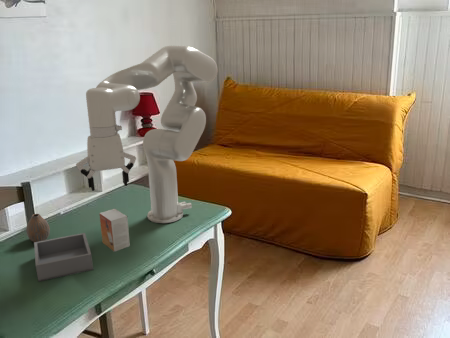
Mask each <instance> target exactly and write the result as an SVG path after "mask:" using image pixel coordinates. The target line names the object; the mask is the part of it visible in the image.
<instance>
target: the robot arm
mask: <svg viewBox="0 0 450 338" xmlns="http://www.w3.org/2000/svg"><path fill="white" fill-rule="evenodd" d="M172 75H173V76H172ZM170 76H172V77H173V80H174V91H173V94H172V96H171V97H170V100H169V101H168V103H167V105H166V106H165V109H164V110H163V112H162V114H161V117H160V124H161V126H162V128H154V129H150V130H148V131H147V132H146V133H145V135H144V136H143V139H142V146H143V151H144V154H145V158H146V161H147V171H148V184H149V195H150V197H149V198H150V210H149V211H148V212H147V220H148V221H151V222H152V223H156V224H168V223H174V222H177V221H179V220H181V219H182V218H183V216H184V210H188V209H192V208H193V207H192V206H193V205H192V202H188V203H187V202H186V201H182V202H179V195H178V178H177V177H178V176H177V175H178V174H177V167H176V163H175V161H177V162H183V161H187V160H188V159H189V158H190V157H191V156H192V154H193V152H194V150H195V149H196V146H197V144H198V143H199V141H200V138H201V136H202V135H203V132H204V131H205V129H206V124H207V115H206V113H205V111H204V110H203V109H202V107H200V106H196V104H197V100H198V95H197V92H196V89H195V87H194V83H211V82H213V81H214V80H215V79H216V77H217V76H218V65H217V62H216V61H215V59H214V58H212V57H211V56H209V55H208V54H205V52H202V51H201V50H199V49H196V48H195V47H192V46H190V45H189V46H188V45H167V46H164V47H161V48H160V49H158V50H157V51H156V52H154V53H153V54H152V55H150V56H149V57H148V58H146V59H145V60H144V61H141V62H140V63H138V64H135V65H131V66H129V67H127V68H124V69H121V70H119V71H117V72H114V73H112V74H110V75H109V76H107V77H106V78H104V79H103V80H101V82H98V84H97V85H96V87H92V88H89V89H88V90H87V91H86V92H85V98H86V107H87V116H88V123H89V124H88V126H89V127H88V128H89V133H90V135H88V136H87V140H86V141H87V142H86V145H87V146H86V147H87V148H86V149H87V150H86V151H87V156H86V157H84V158H83V159H81V160H80V161H78V162H76V163H75V166H76V168H77V169H78V170H79V172H80V174H81V175H83V176H85V177H87V185H88V188H89V189H91V191H92V192H93V191H96V190H95V181H94V177H93V176H94V175H95V173H96V172H101V171H109V170H116V169H121V170H122V172H121V173H122V183H123V185H124V186H126V187H128V183H129V182H130V175H129V173H130V172H131V170H132V169H133V167H134V164H135V163H136V160H137V157H136V155H133V154H130V153H127V152H125V151H124V149H123V148H124V147H123V143H122V139H121V136H120V133H119V132H120V131H122V130H123V127H122V125H118V124H117V120H116V119H117V118H116V112H125V111H126V112H127V111H131V110H133V109H136V107H138V105H139V103H140V100H141V96H140V91H141V90H147V89H152V88H155V87H157V86H158V85H161V83H163V82H164V81H165V80H166V79H168V77H170ZM193 82H194V83H193ZM125 159H129V162H128V163H127V164H126V161H125ZM86 164H88V166H89V168H88V169H87V170H86V169H85V168H84V166H85V165H86ZM125 164H126V165H125Z"/></svg>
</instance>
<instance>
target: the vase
mask: <svg viewBox="0 0 450 338" xmlns="http://www.w3.org/2000/svg"><path fill="white" fill-rule="evenodd" d="M50 232H51V229H50V225H49V223H48V221H47V220H46V219H45V218H44V217H42V216H41V214H40V213H35V214H34V213H33V214H32V215H31V218H30V219H29V221H28V222H27V224H26V232H25V233H26V235H27V238H28V239H29V240H30V241H31V242H32V243H34V242H39V241H44V240H48V238H49V237H50Z"/></svg>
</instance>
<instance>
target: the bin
mask: <svg viewBox="0 0 450 338" xmlns="http://www.w3.org/2000/svg"><path fill="white" fill-rule="evenodd" d="M33 245H34V248H33V249H34V259H35V262H34V263H35V270H36V275H37V280H38V283H40V282H44V281H48V280H53V279H58V278H63V277H67V276H71V275H75V274H81V273H86V272H90V271H94V263H93V257H92V252H91V249H90V248H91V247H90V245H89V241H88V239H87V235H86V232H82V233H75V234H71V235H70V234H69V235H66V236H61V237H60V236H59V237H55V238H50V239H46V240H44V241H39V242H33Z"/></svg>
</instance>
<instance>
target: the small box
mask: <svg viewBox="0 0 450 338" xmlns="http://www.w3.org/2000/svg"><path fill="white" fill-rule="evenodd" d="M98 215H99V223H100V232H101V240H102V244H103V245H105V246H106V247H108V248H109V249H110V250H111V251H113V252H114V253H115V252H118V251H120V250H123V249H124V250H125V249H127V248H129V247H130V246H131V244H130V234H129V231H130V230H129V221H128V216H127V215H126V214H124V213H122V212H121V211H120V210H118V209H116V208H113V209H112V208H111V209H108V210H106V211H103V212H102V211H101V212H99V214H98Z"/></svg>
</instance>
